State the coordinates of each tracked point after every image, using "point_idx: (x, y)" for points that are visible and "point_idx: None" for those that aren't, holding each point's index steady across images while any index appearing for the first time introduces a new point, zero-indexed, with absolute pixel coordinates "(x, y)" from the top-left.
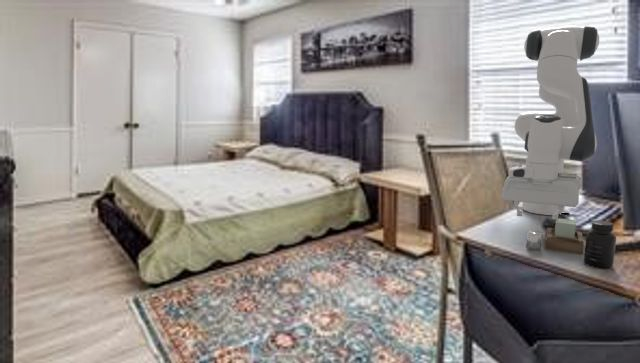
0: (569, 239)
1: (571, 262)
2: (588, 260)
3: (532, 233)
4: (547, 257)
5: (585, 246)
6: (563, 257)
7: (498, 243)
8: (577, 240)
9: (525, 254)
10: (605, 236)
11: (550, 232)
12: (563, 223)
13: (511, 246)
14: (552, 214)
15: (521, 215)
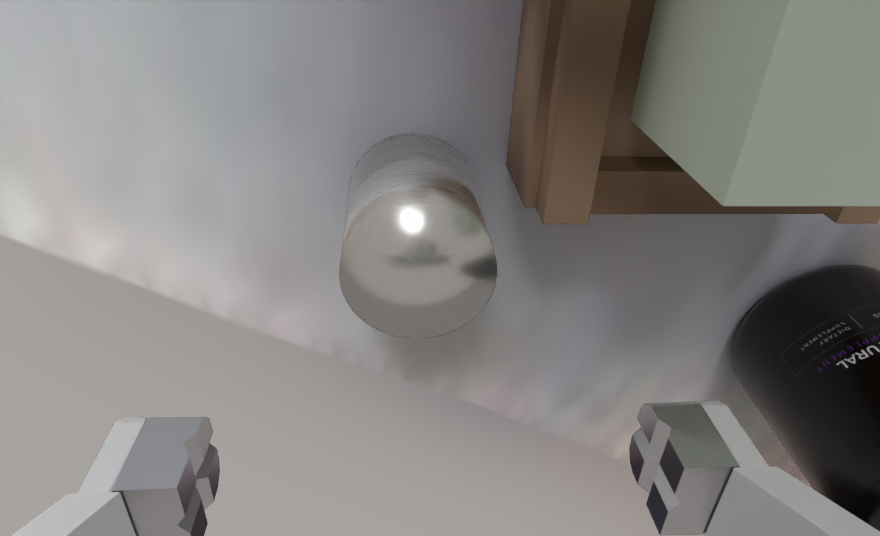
0: (756, 211)
1: (649, 359)
2: (752, 400)
3: (392, 314)
4: (507, 340)
5: (796, 427)
6: (621, 294)
7: (96, 192)
8: (827, 211)
9: (359, 349)
10: None
11: (611, 37)
12: (810, 201)
13: (226, 223)
14: (667, 482)
15: (210, 486)
